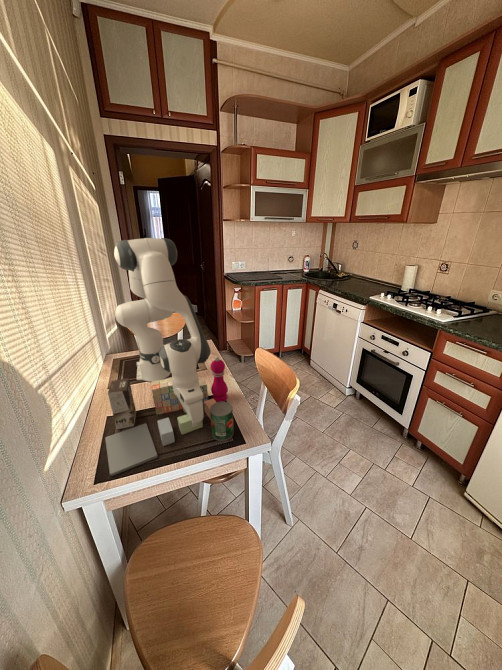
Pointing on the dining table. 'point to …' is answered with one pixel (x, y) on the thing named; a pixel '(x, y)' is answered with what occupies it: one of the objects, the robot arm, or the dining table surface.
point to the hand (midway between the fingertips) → (190, 418)
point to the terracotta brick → (208, 405)
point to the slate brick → (166, 431)
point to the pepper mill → (218, 381)
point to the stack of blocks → (171, 395)
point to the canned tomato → (222, 420)
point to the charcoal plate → (129, 449)
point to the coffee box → (122, 403)
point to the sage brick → (187, 424)
